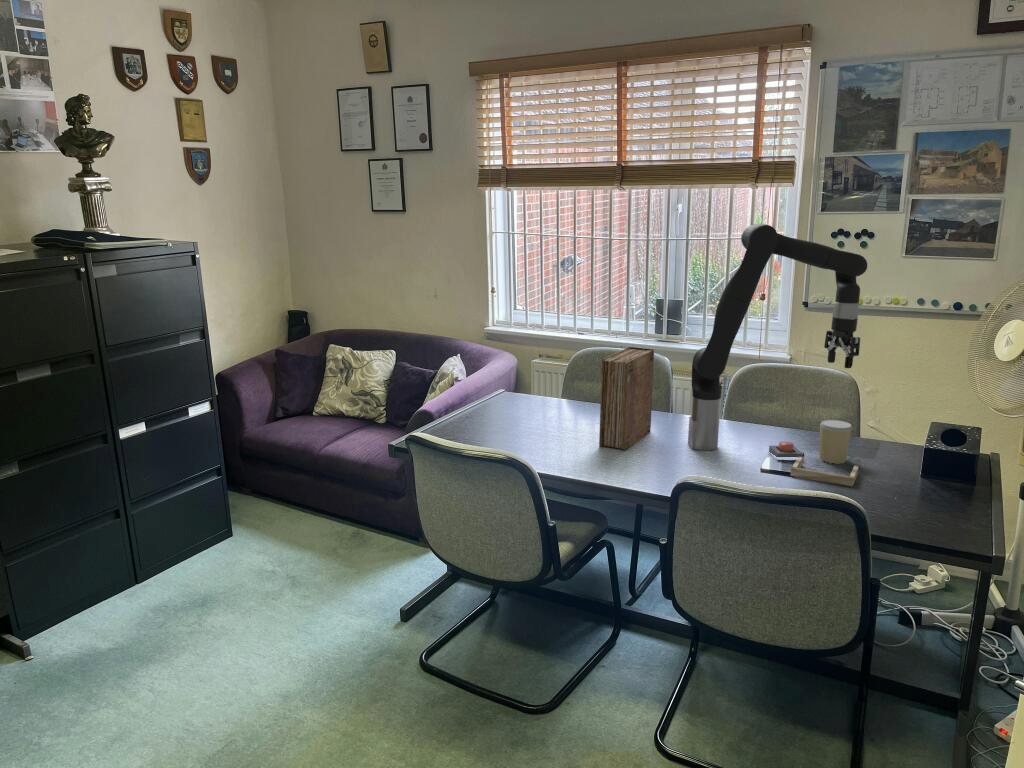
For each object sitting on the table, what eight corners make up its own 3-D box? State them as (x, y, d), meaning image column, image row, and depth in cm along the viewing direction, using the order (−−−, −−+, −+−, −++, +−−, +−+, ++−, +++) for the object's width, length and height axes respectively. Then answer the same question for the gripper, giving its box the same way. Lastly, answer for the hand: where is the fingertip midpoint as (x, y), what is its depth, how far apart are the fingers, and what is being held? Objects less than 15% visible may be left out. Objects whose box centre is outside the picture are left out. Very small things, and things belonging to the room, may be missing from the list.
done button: (781, 454, 243) (781, 445, 242) (776, 450, 247) (777, 441, 246) (794, 454, 243) (795, 445, 242) (790, 450, 247) (790, 441, 246)
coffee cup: (847, 457, 245) (851, 421, 242) (849, 466, 236) (853, 429, 233) (816, 453, 248) (819, 418, 245) (817, 462, 239) (821, 426, 236)
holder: (852, 486, 219) (853, 478, 219) (790, 475, 228) (791, 468, 227) (857, 474, 230) (858, 466, 229) (798, 464, 238) (798, 456, 237)
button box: (776, 460, 241) (777, 453, 241) (768, 452, 249) (769, 445, 248) (802, 460, 241) (802, 453, 241) (793, 452, 249) (793, 445, 248)
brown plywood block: (624, 451, 250) (628, 362, 243) (598, 447, 254) (601, 359, 247) (650, 431, 271) (654, 349, 264) (626, 427, 276) (629, 346, 269)
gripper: (821, 313, 251) (815, 361, 255) (849, 319, 238) (843, 370, 242) (841, 312, 253) (835, 360, 257) (870, 319, 240) (863, 369, 243)
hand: (839, 365), depth 249 cm, fingers open, 8 cm apart
